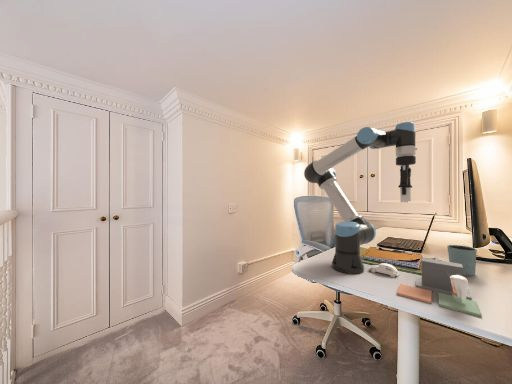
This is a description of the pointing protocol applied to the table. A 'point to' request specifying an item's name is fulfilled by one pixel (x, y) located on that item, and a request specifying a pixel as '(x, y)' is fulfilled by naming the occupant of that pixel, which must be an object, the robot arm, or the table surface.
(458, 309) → the pad sage
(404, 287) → the pad terracotta
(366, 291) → the table surface
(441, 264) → the block
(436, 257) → the electrical switch
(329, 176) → the robot arm
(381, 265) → the car
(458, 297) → the milkshake
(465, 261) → the teal cup
